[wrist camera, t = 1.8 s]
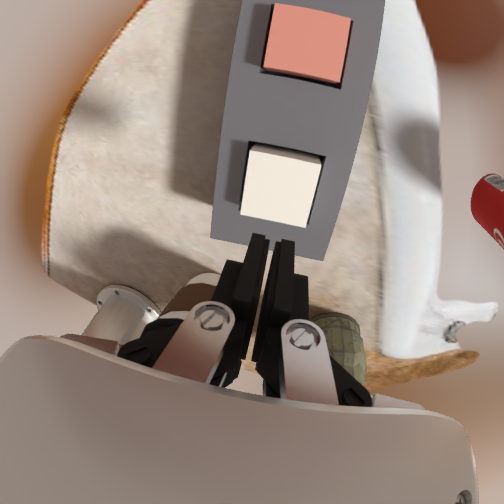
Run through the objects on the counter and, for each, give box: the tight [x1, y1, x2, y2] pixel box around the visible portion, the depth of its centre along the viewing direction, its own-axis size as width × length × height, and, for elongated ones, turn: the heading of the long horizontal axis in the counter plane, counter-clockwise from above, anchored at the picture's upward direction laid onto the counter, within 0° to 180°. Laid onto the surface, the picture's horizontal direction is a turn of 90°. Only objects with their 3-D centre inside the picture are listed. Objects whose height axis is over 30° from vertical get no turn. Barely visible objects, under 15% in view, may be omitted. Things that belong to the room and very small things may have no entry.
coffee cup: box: [140, 273, 242, 388], centre depth 31 cm, size 11×11×12 cm
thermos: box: [309, 313, 367, 387], centre depth 22 cm, size 9×12×35 cm
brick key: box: [263, 3, 351, 84], centre depth 15 cm, size 5×5×3 cm
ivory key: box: [240, 143, 321, 228], centre depth 21 cm, size 5×5×3 cm
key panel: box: [210, 0, 385, 261], centre depth 20 cm, size 23×10×6 cm, turn 171°
